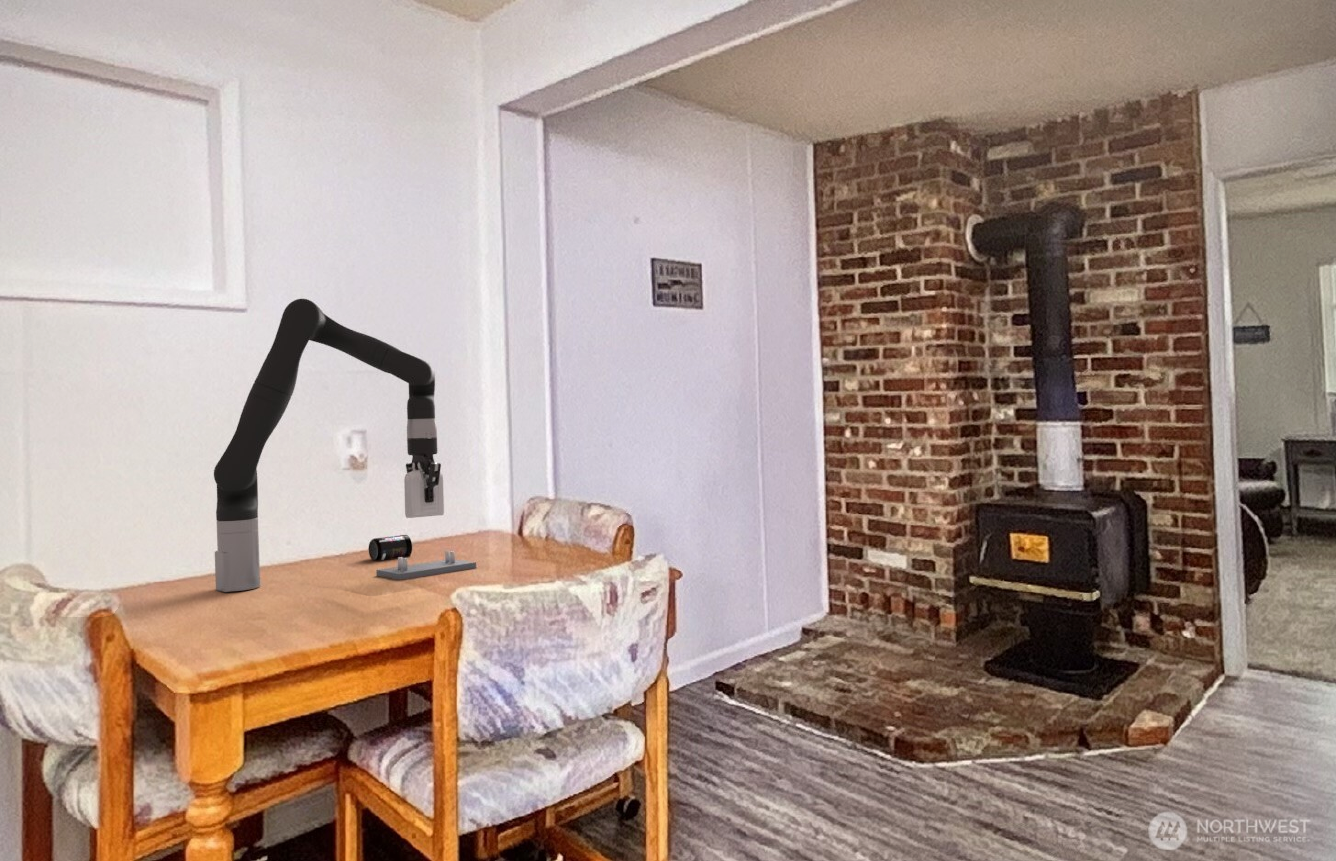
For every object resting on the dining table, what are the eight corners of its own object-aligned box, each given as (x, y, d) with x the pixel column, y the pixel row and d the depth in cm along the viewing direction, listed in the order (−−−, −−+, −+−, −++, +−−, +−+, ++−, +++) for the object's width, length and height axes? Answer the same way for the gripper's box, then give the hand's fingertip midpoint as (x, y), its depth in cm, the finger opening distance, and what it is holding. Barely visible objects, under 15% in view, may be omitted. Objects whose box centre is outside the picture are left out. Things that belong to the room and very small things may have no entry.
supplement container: (365, 548, 252) (398, 544, 259) (373, 566, 248) (406, 562, 256) (372, 533, 248) (406, 529, 256) (380, 551, 245) (414, 547, 252)
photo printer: (438, 514, 231) (437, 468, 231) (446, 515, 228) (445, 468, 228) (402, 518, 224) (401, 470, 224) (410, 518, 221) (408, 470, 221)
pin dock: (476, 567, 230) (475, 550, 230) (400, 580, 214) (399, 561, 214) (451, 564, 238) (451, 548, 238) (376, 575, 222) (375, 558, 222)
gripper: (395, 437, 228) (397, 502, 228) (423, 436, 218) (425, 504, 218) (420, 436, 234) (422, 500, 234) (449, 435, 224) (451, 501, 224)
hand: (424, 501), depth 226 cm, fingers closed on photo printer, 4 cm apart
